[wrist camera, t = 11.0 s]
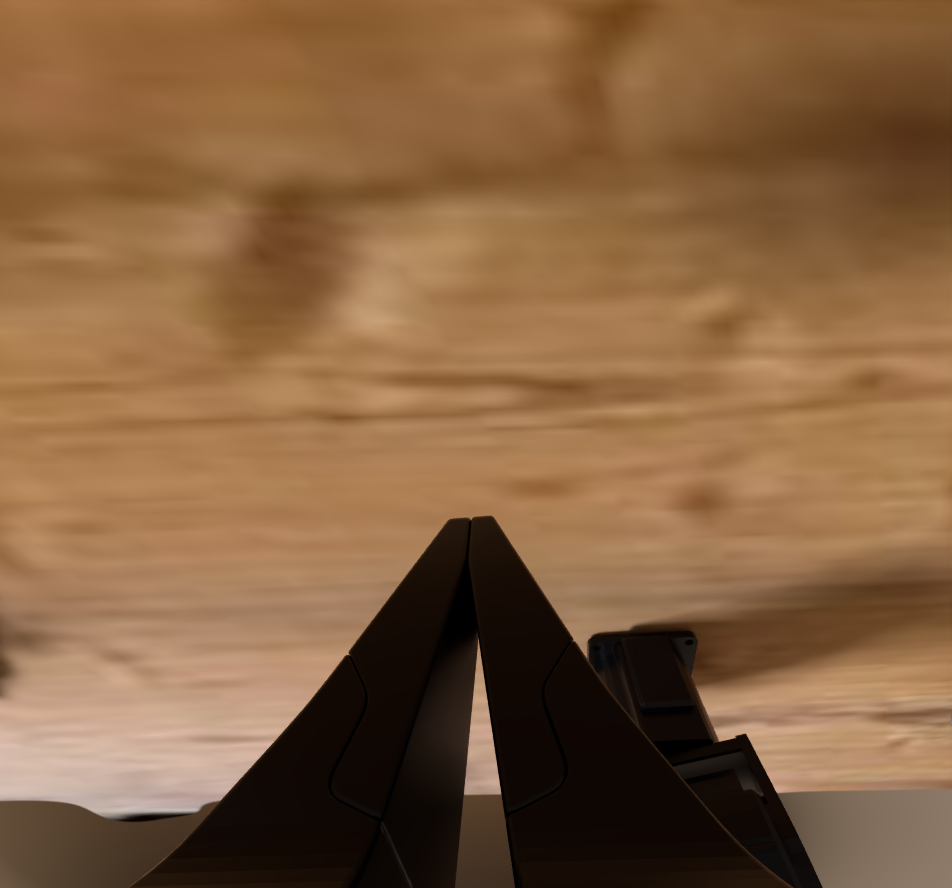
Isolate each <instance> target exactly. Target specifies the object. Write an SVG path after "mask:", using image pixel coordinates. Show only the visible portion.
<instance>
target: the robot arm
mask: <svg viewBox="0 0 952 888" xmlns="http://www.w3.org/2000/svg"><path fill="white" fill-rule="evenodd" d="M478 638H479V645H480V652H481V659H482V666H483V672H484V679H485V686H486V693H487V699H488V706H489V713H490V720H491V727H492V733H493V740H494V747H495V754H496V760H497V767H498V774H499V781H500V788H501V794H502V801H503V808H504V815H505V821H506V828H507V834H508V842H509V848H510V855H511V862H512V869H513V876H514V883H515V888H822V885H821V883H820V881H819V879H818V876H817V875H816V872H815V870H814V868H813V865H812V863H811V861H810V859H809V857H808V855H807V853H806V851H805V848H804V846H803V844H802V842H801V840H800V838H799V836H798V834H797V832H796V830H795V828H794V826H793V824H792V822H791V820H790V818H789V816H788V815H787V812H786V810H785V808H784V806H783V804H782V802H781V800H780V799H779V797H778V795H777V793H776V791H775V789H774V787H773V785H772V783H771V781H770V779H769V777H768V775H767V773H766V771H765V769H764V768H763V766H762V764H761V762H760V760H759V758H758V756H757V754H756V752H755V750H754V748H753V746H752V744H751V742H750V740H749V739H748V737H747V735H746V734H742V735H737V736H735V737H736V738H734V739H730V740H725V741H721V742H719V740H718V737H717V735H716V733H715V730H714V728H713V726H712V724H711V721H710V719H709V717H708V714H707V712H706V710H705V707H704V705H703V703H702V700H701V698H700V696H699V694H698V691H697V689H696V687H695V684H694V682H693V680H692V677H691V673H692V668H693V663H694V658H695V653H696V648H697V642H698V641H697V638H696V636H695V634H694V633H693V632H690V631H684V632H668V633H651V634H635V635H619V636H602V637H593V638H591V639H589V640H588V643H587V658H586V657H585V655H584V654H583V652H582V651H581V649H580V647H579V646H578V644H577V643H576V642H575V641H573V637H572V636H571V634H570V633H569V631H568V630H567V628H566V627H565V625H564V624H563V622H562V620H561V619H560V617H559V616H558V614H557V613H556V611H555V610H554V608H553V607H552V605H551V604H550V602H549V601H548V599H547V598H546V596H545V595H544V593H543V592H542V590H541V588H540V587H539V585H538V584H537V582H536V581H535V579H534V578H533V576H532V575H531V573H530V572H529V570H528V569H527V567H526V566H525V564H524V563H523V561H522V560H521V558H520V556H519V555H518V553H517V552H516V550H515V549H514V547H513V546H512V544H511V543H510V541H509V540H508V538H507V537H506V535H505V534H504V532H503V531H502V529H501V528H500V526H499V524H498V523H497V521H496V520H495V518H494V517H493V516H480V517H473V518H472V520H470V518H454V519H450V520H448V521H447V522H446V524H445V525H444V526H443V528H442V529H441V530H440V532H439V533H438V534H437V536H436V537H435V538H434V540H433V541H432V542H431V544H430V545H429V546H428V548H427V549H426V550H425V552H424V553H423V554H422V555H421V557H420V558H419V559H418V561H417V562H416V563H415V565H414V566H413V567H412V569H411V570H410V571H409V573H408V574H407V575H406V577H405V578H404V579H403V581H402V582H401V583H400V584H399V586H398V587H397V588H396V590H395V591H394V592H393V594H392V595H391V596H390V598H389V599H388V600H387V602H386V603H385V604H384V606H383V607H382V608H381V610H380V611H379V612H378V614H377V615H376V616H375V617H374V619H373V620H372V621H371V623H370V624H369V625H368V627H367V628H366V629H365V631H364V632H363V633H362V635H361V636H360V637H359V639H358V640H357V641H356V643H355V644H354V645H353V646H352V648H351V649H350V650H349V655H346V656H345V657H344V658H343V659H342V661H341V662H340V663H339V665H338V666H337V667H336V669H335V670H334V671H333V673H332V674H331V675H330V676H329V678H328V679H327V680H326V681H325V683H324V684H323V685H322V686H321V688H320V689H319V690H318V691H317V693H316V694H315V695H314V696H313V698H312V699H311V700H310V701H309V703H308V704H307V705H306V706H305V707H304V709H303V710H302V711H301V712H300V713H299V714H298V715H297V717H296V718H295V719H294V720H293V721H292V722H291V723H290V725H289V726H288V727H287V728H286V729H285V730H284V731H283V733H282V734H281V735H280V736H279V737H278V738H277V739H276V740H275V742H274V743H273V744H272V745H271V746H270V747H269V748H268V749H267V750H266V751H265V753H264V754H263V755H262V756H261V757H260V758H259V759H258V760H257V761H256V762H255V764H254V765H253V766H252V767H251V768H250V769H249V770H248V771H247V772H246V773H245V774H244V776H243V777H242V778H241V779H240V780H239V781H238V782H237V783H236V784H235V785H234V787H233V788H232V789H231V790H230V791H229V792H228V793H227V794H226V795H225V796H224V798H223V799H222V800H221V801H220V802H219V803H218V804H217V805H216V806H215V807H214V809H213V810H212V811H211V812H210V813H209V814H208V815H207V816H206V817H205V819H204V820H203V821H202V822H201V823H200V824H199V825H198V826H197V827H196V828H195V829H194V831H192V832H191V833H190V834H189V835H188V837H186V839H185V840H184V841H183V842H182V843H181V844H180V845H178V846H177V847H176V848H175V849H174V850H173V851H172V852H171V853H170V854H169V855H168V856H167V857H166V858H165V859H163V860H162V861H161V862H160V863H159V864H157V865H156V866H155V867H154V868H153V869H151V870H150V871H149V872H148V873H147V874H145V875H144V876H143V877H141V878H140V879H139V880H137V881H136V882H134V883H133V884H132V885H130V886H129V887H128V888H455V881H456V870H457V860H458V850H459V839H460V828H461V818H462V807H463V797H464V786H465V776H466V765H467V755H468V744H469V734H470V723H471V712H472V702H473V691H474V681H475V670H476V660H477V649H478ZM757 792H758V793H757Z"/></svg>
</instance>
